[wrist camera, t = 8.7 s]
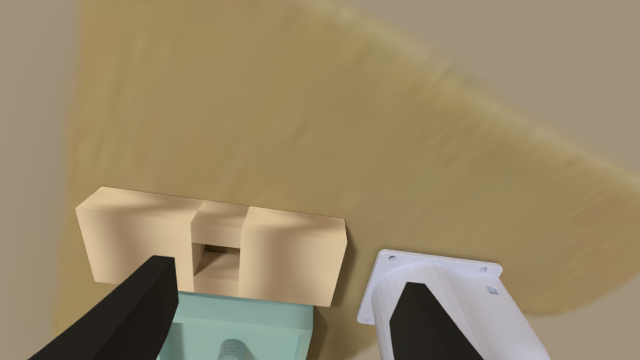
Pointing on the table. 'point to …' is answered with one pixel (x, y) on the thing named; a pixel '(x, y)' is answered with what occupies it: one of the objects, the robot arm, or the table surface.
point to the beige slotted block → (215, 229)
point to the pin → (232, 350)
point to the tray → (237, 328)
